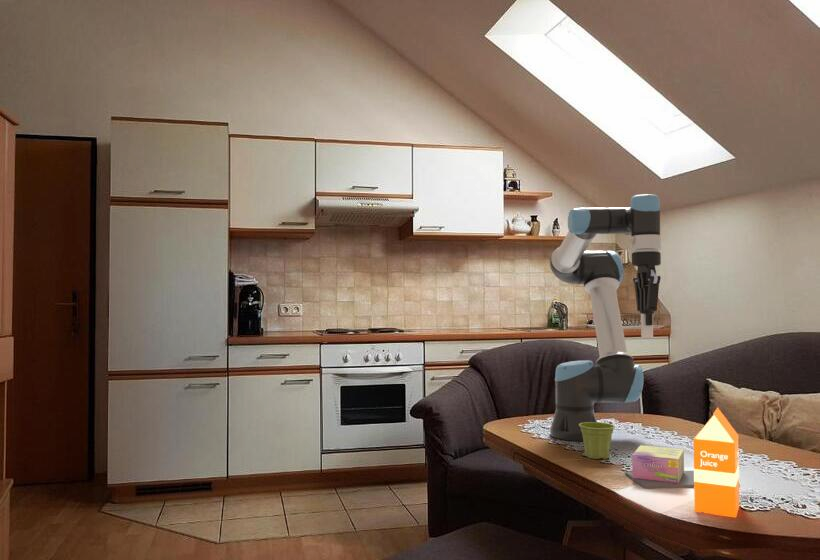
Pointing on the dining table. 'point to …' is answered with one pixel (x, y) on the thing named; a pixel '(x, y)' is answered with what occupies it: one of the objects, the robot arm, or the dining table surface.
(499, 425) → the dining table surface
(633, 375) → the robot arm
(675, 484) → the mat
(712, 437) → the orange juice
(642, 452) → the box
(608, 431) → the plant pot
